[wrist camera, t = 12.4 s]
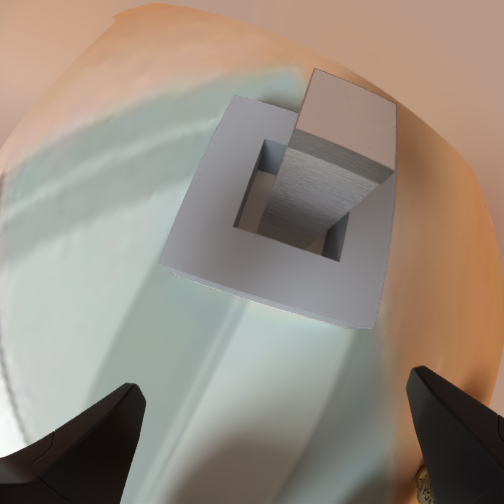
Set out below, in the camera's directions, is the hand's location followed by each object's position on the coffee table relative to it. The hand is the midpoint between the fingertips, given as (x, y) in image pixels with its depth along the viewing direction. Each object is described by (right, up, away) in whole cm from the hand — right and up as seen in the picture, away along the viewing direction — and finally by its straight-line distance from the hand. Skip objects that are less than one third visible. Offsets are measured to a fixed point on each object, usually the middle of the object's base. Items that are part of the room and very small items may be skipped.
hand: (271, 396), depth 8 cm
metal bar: (+2, +7, +15) cm, 16 cm away
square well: (+2, +7, +15) cm, 17 cm away
